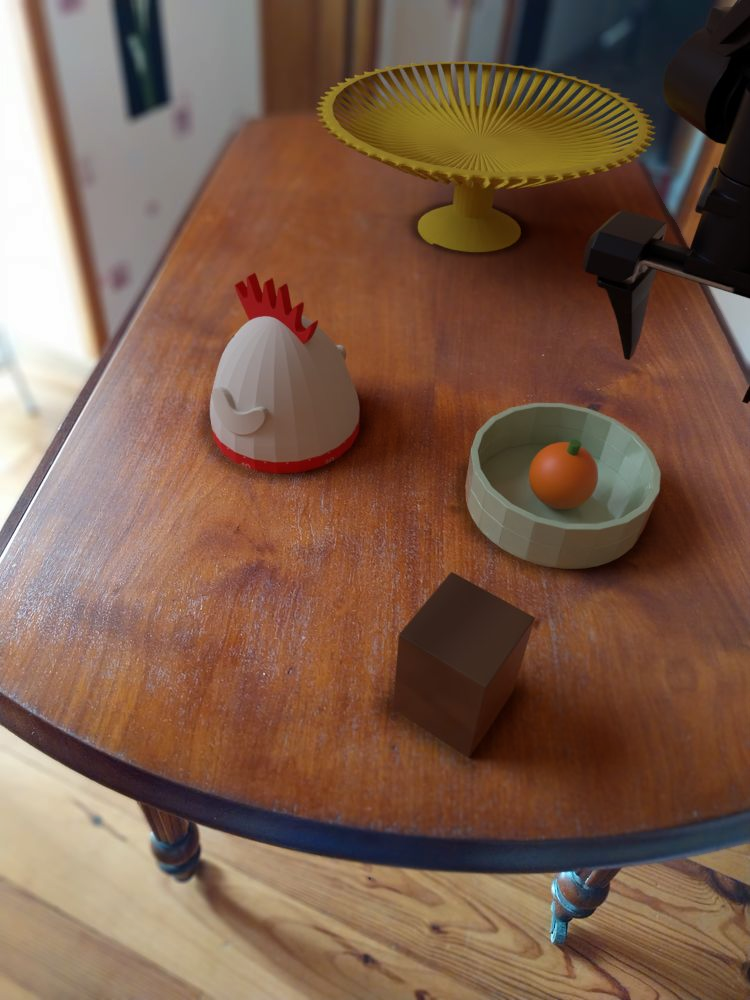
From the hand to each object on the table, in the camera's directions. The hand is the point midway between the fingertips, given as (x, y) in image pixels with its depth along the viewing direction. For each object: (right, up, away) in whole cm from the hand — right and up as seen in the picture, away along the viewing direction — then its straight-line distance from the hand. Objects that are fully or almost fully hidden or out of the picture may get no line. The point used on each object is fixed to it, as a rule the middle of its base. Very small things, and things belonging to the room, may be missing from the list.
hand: (685, 378), depth 58 cm
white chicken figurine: (-32, -2, +14) cm, 35 cm away
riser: (-19, -23, -7) cm, 31 cm away
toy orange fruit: (-9, -9, +7) cm, 14 cm away
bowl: (-9, -10, +7) cm, 15 cm away
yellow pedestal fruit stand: (-11, +27, +43) cm, 52 cm away
